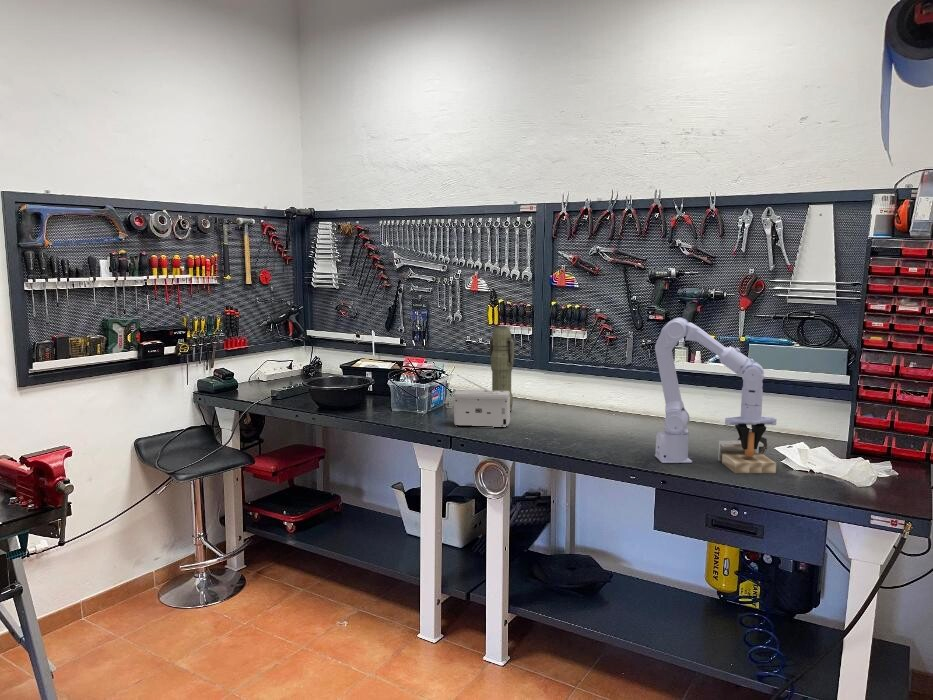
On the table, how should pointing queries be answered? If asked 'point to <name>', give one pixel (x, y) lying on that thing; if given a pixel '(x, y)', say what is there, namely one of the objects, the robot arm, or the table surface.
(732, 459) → the socket block
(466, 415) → the stereo radio cassette player
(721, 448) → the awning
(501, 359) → the olive green jumpsuit
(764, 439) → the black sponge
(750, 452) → the peg
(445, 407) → the table surface
